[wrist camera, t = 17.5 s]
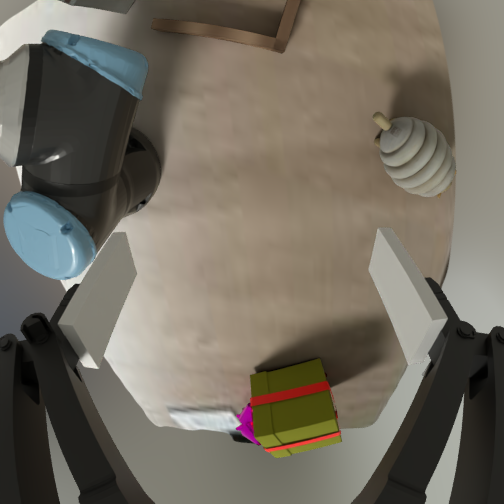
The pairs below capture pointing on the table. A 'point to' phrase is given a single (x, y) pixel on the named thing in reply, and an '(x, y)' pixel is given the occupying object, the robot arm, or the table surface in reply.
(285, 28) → the walnut u-shaped frame
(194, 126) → the table surface
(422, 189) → the grey ribbed rounded piece
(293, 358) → the table surface
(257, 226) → the table surface
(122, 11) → the skincare box
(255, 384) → the gift box
